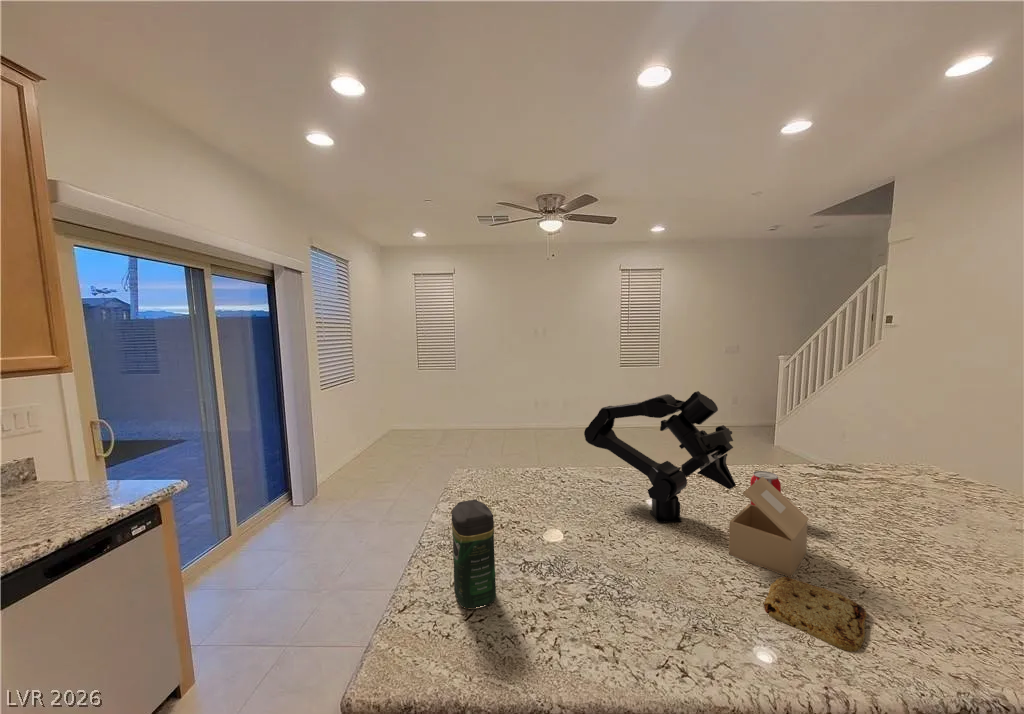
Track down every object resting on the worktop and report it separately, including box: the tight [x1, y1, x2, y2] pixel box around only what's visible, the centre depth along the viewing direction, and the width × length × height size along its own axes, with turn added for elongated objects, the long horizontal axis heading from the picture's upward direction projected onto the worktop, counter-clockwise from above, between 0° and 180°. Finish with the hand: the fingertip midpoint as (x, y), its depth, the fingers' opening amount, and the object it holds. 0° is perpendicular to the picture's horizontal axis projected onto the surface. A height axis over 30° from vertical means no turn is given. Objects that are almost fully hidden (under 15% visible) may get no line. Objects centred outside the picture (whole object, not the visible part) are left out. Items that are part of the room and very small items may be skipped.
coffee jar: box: [450, 499, 497, 609], centre depth 79 cm, size 10×8×19 cm
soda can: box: [749, 470, 782, 506], centre depth 108 cm, size 7×7×12 cm
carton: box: [728, 503, 808, 578], centre depth 91 cm, size 12×13×8 cm
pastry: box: [763, 576, 868, 653], centre depth 72 cm, size 17×17×3 cm
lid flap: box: [742, 476, 810, 540], centre depth 89 cm, size 12×12×1 cm
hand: (733, 487), depth 96 cm, fingers closed
